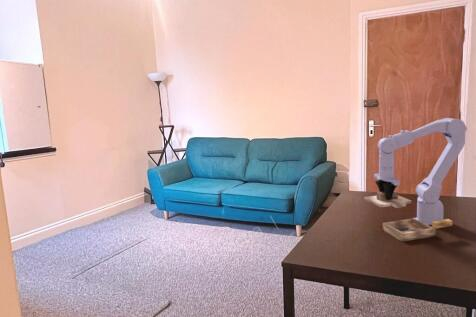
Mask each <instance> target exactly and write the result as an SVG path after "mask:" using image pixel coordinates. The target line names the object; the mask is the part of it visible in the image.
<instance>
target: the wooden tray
mask: <svg viewBox="0 0 476 317" xmlns="http://www.w3.org/2000/svg"><path fill="white" fill-rule="evenodd" d="M414 218H415V217H412V218H407V219H399V220H394V221H393V220H392V221H387V222H383V223H382V231H384V232H385V233H387V234H388V235H390V236H392V237H394V238H395V239H397V240H398V241H401V242H408V241H414V240H420V239H427V238H433V237H436V228H434V227H432V225H431V226H430V225H427V224H424V223H422V222H420V221H418V220H416V219H414Z"/></svg>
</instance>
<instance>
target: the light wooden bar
mask: <svg viewBox="0 0 476 317" xmlns="http://www.w3.org/2000/svg"><path fill="white" fill-rule="evenodd" d="M431 227H433V228H435V229H441V228H442V229H443V228H447V227H448V228H449V227H453V220H452V219H450V218H445V219H443V220H438V221H432V225H431Z"/></svg>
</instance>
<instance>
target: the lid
mask: <svg viewBox="0 0 476 317" xmlns="http://www.w3.org/2000/svg"><path fill="white" fill-rule="evenodd" d="M364 201H367V202H369V203H370V204H373V205H375V206H377V207H379V208H386V207H393V208H396V209H400V208H405V207H406V206H407V204H412V202H413V201H412V200H411V199H408V198H406V197H403V196H401V195H399V191H397V190H394V192H393V195H392V199H389V200H387V199H386V195H385V191H383V192H380V191H377V192H376V195H371V196H364Z"/></svg>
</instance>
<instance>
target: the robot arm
mask: <svg viewBox="0 0 476 317" xmlns="http://www.w3.org/2000/svg"><path fill="white" fill-rule="evenodd" d="M467 127H468V126H466V124H465V122H464V120H462V119H460V118H451V117H444V118H441V119H437V120H435V121H432V122H429V123H427V124H426V125H423V126H421V127H419V128H416V129H414V130H411V131H410V130H404V129H402V130H400V131H399V132H398V133H395V134H393V135H392V134H390V135H388V137H383V138H381V139H380V140H379V141H378V142H377V145H376V146H377V149H378V151H379V152H378V153H379V154H378V173H374V174H373V178H374V179H375V184H376V185H377V186H376V187H377V188H378V192H383V191H385V195H386V199H387V200H389V199H392V195H393V192H394V191H396V188H397V186H400V185H401V184H400V182H401V181H400V179H397V178H396V177H395V176H394V175H395V154H394V152H395V151H396V150H398V149H400V148H402V147H405V146H408V145H410V144H413V142H414V141H415V140H416V139H417V138H421V137H423V136H427V135H430V134H433V133H441V134H443V135H444V136H445V139H446V141H447V144H446V146H445V148H444V149H443V151H442V152H441V154H440V156H439V157H438V158H437V159H438V160H437V161H436V163H435V165H434V166H433V168H432V169H431V171H430V172H429V174H428V176H427V177H424V178H423V180H422V181H421V182H420V183H418V184H417V186H416V187H415V194H416V196H417V200H416V201H417V202H416V217H413V218H414V219H416V220H418V221H420V222H422V223H424V224H427V225H429V226H430V225H431V226H432V221H438V220H444V204H443V202H442V201H441V200H439V199H440V196H441V195H440V193H441V191H442V188H443V186H442V183H443V181H444V179H445V178H446V177H447V175H448V173H449V171H450V170H451V168H452V166H453V164H454V163H455V161H456V160H457V158H458V156H459V155H460V153H461V152H462V150H463V148H464V147H465V145H466V132H467V130H468V128H467Z"/></svg>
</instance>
